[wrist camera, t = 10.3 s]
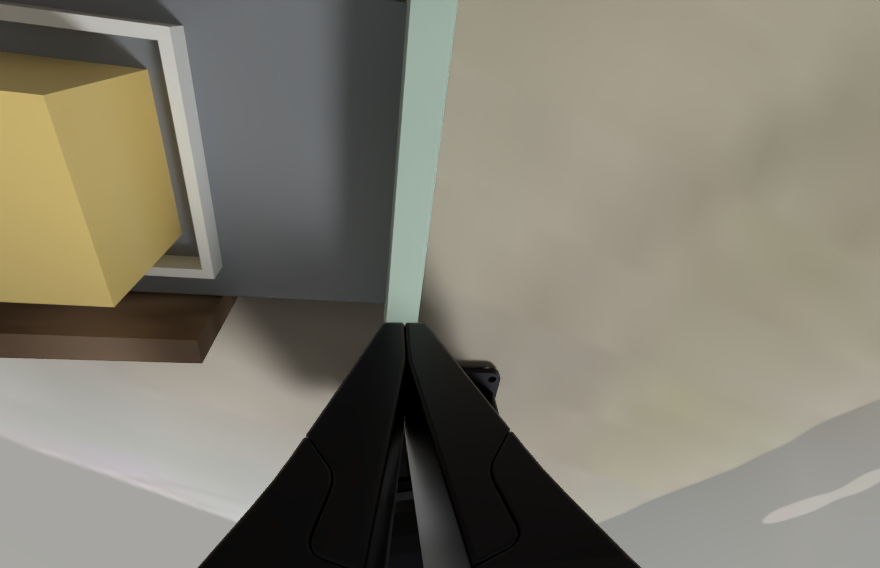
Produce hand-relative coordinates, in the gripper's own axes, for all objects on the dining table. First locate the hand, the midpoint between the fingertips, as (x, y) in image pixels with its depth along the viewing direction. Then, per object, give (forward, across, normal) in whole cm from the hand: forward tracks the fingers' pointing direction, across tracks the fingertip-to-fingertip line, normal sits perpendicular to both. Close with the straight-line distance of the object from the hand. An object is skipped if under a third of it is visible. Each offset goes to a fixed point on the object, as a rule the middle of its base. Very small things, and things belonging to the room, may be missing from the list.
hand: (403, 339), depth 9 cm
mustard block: (+10, +11, -1) cm, 14 cm away
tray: (+11, +7, -1) cm, 13 cm away
